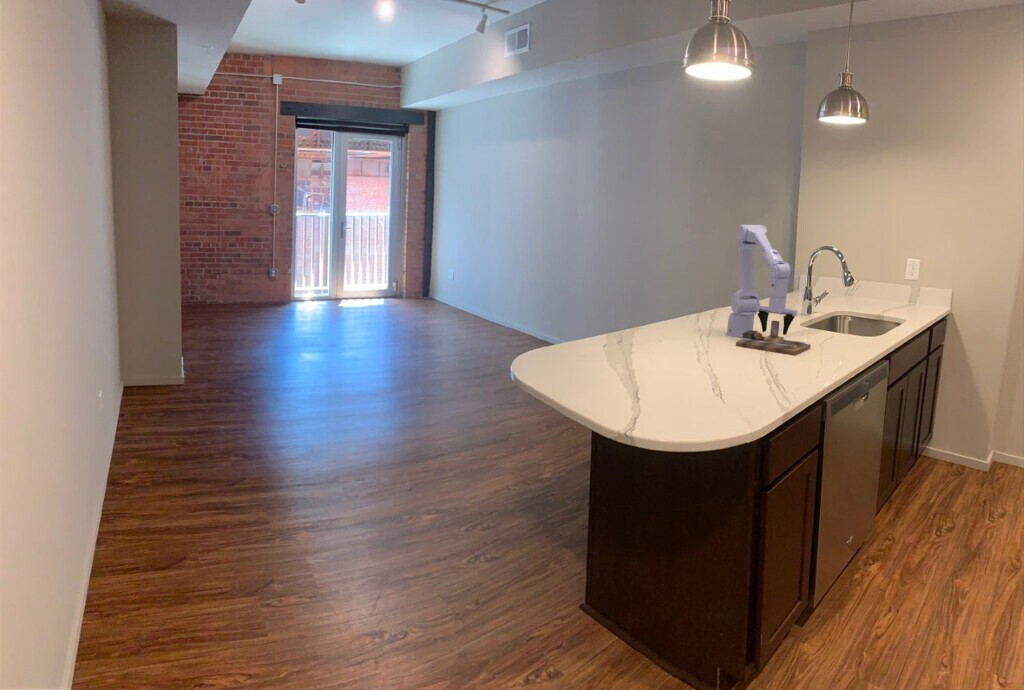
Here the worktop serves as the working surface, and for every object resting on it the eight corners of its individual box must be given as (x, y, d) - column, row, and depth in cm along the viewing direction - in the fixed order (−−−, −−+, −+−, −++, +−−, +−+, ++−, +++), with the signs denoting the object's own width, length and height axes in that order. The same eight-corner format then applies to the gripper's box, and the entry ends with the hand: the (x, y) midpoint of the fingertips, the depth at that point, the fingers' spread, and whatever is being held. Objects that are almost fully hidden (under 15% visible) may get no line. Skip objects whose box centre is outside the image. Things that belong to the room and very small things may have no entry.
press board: (735, 345, 269) (736, 333, 268) (752, 339, 281) (753, 327, 280) (795, 355, 256) (796, 342, 255) (810, 348, 268) (811, 336, 267)
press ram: (763, 342, 268) (765, 321, 266) (769, 340, 272) (771, 319, 270) (777, 344, 264) (779, 323, 263) (783, 342, 269) (785, 321, 267)
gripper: (754, 295, 266) (751, 331, 269) (794, 300, 257) (790, 337, 260) (761, 293, 271) (758, 329, 274) (800, 297, 262) (797, 334, 265)
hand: (774, 332), depth 267 cm, fingers open, 7 cm apart
